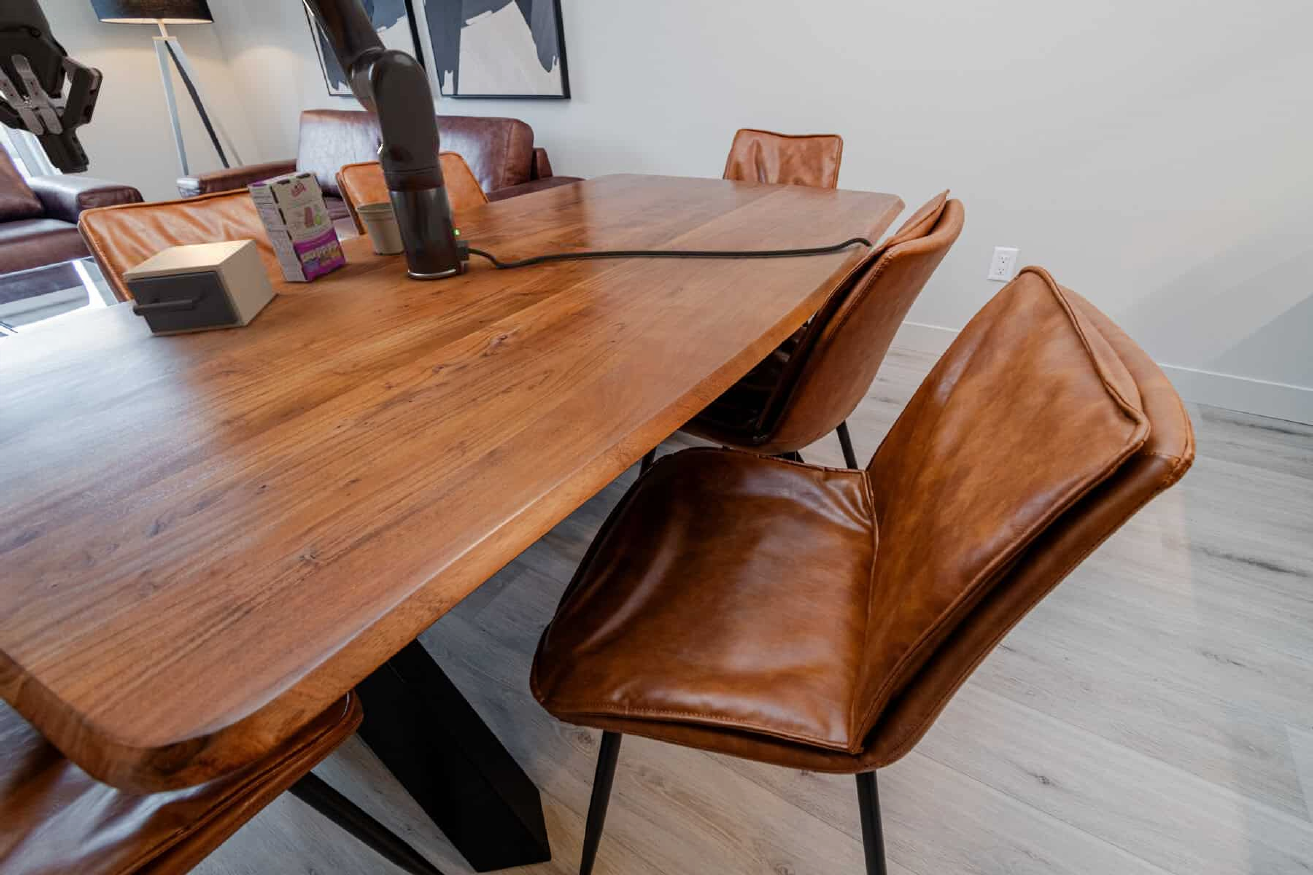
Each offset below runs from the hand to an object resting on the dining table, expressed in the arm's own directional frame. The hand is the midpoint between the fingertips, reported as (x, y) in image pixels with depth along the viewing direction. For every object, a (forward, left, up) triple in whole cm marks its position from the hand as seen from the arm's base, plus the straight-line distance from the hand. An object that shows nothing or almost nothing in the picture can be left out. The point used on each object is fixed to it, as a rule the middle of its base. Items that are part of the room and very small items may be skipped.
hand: (76, 172), depth 64 cm
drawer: (+2, -16, -22) cm, 27 cm away
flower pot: (-20, -49, -23) cm, 58 cm away
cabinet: (+2, -20, -23) cm, 31 cm away
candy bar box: (-8, -38, -23) cm, 45 cm away
